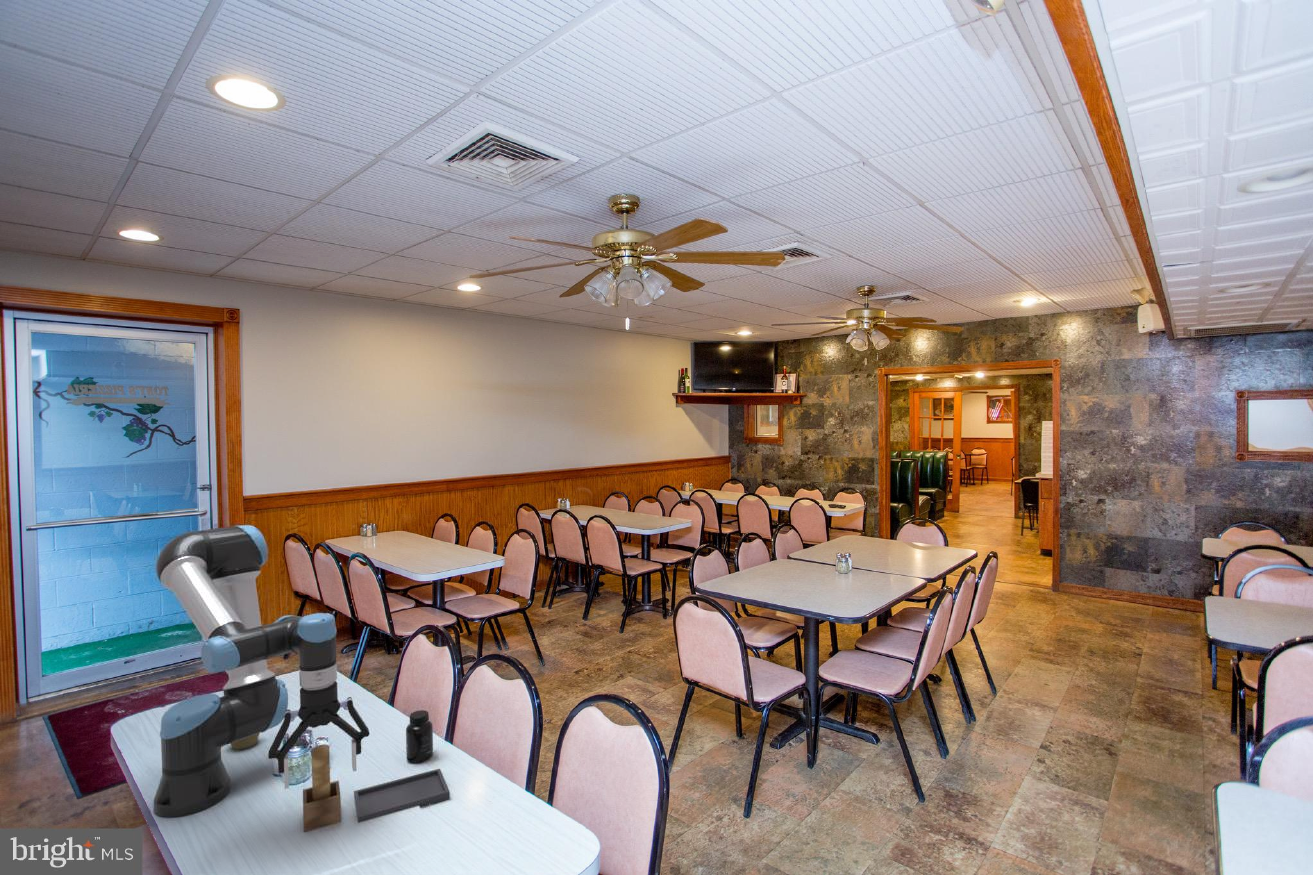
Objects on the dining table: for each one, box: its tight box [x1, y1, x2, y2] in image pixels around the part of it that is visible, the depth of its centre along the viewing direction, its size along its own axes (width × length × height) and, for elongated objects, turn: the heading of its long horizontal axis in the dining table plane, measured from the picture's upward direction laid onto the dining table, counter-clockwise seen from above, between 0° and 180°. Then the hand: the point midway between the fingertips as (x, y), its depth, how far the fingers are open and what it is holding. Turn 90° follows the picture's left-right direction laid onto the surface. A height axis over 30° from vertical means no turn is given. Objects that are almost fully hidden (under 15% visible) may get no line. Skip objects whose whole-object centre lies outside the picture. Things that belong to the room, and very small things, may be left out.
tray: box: [353, 768, 451, 823], centre depth 154 cm, size 20×12×2 cm, turn 119°
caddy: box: [302, 780, 342, 833], centre depth 146 cm, size 7×7×6 cm
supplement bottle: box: [405, 709, 434, 764], centre depth 173 cm, size 7×7×12 cm
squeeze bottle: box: [230, 733, 261, 750], centre depth 182 cm, size 8×8×18 cm
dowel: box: [311, 743, 331, 802], centre depth 146 cm, size 4×4×16 cm
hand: (321, 776), depth 146 cm, fingers open, 13 cm apart
